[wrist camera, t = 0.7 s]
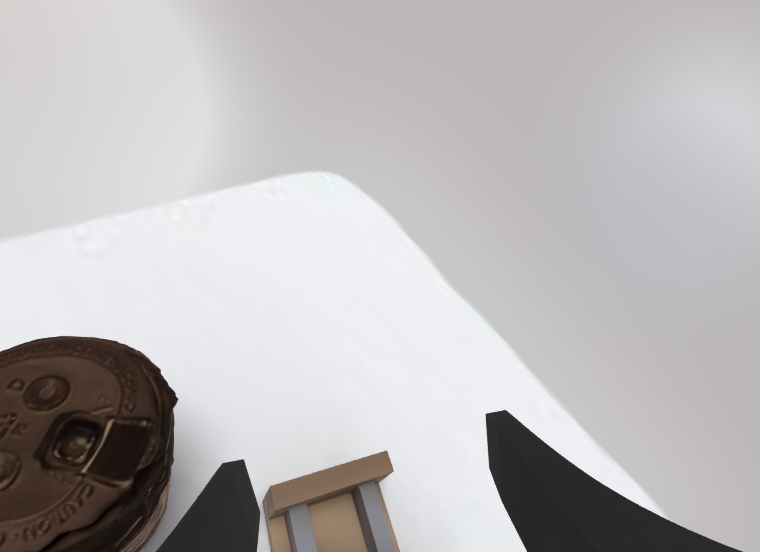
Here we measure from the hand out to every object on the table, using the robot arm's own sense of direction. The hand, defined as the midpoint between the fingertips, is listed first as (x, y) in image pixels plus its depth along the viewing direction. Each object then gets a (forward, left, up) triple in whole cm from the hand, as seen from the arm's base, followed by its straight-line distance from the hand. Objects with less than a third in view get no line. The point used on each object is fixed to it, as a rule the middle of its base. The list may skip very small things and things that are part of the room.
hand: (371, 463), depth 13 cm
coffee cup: (+4, +9, -17) cm, 20 cm away
